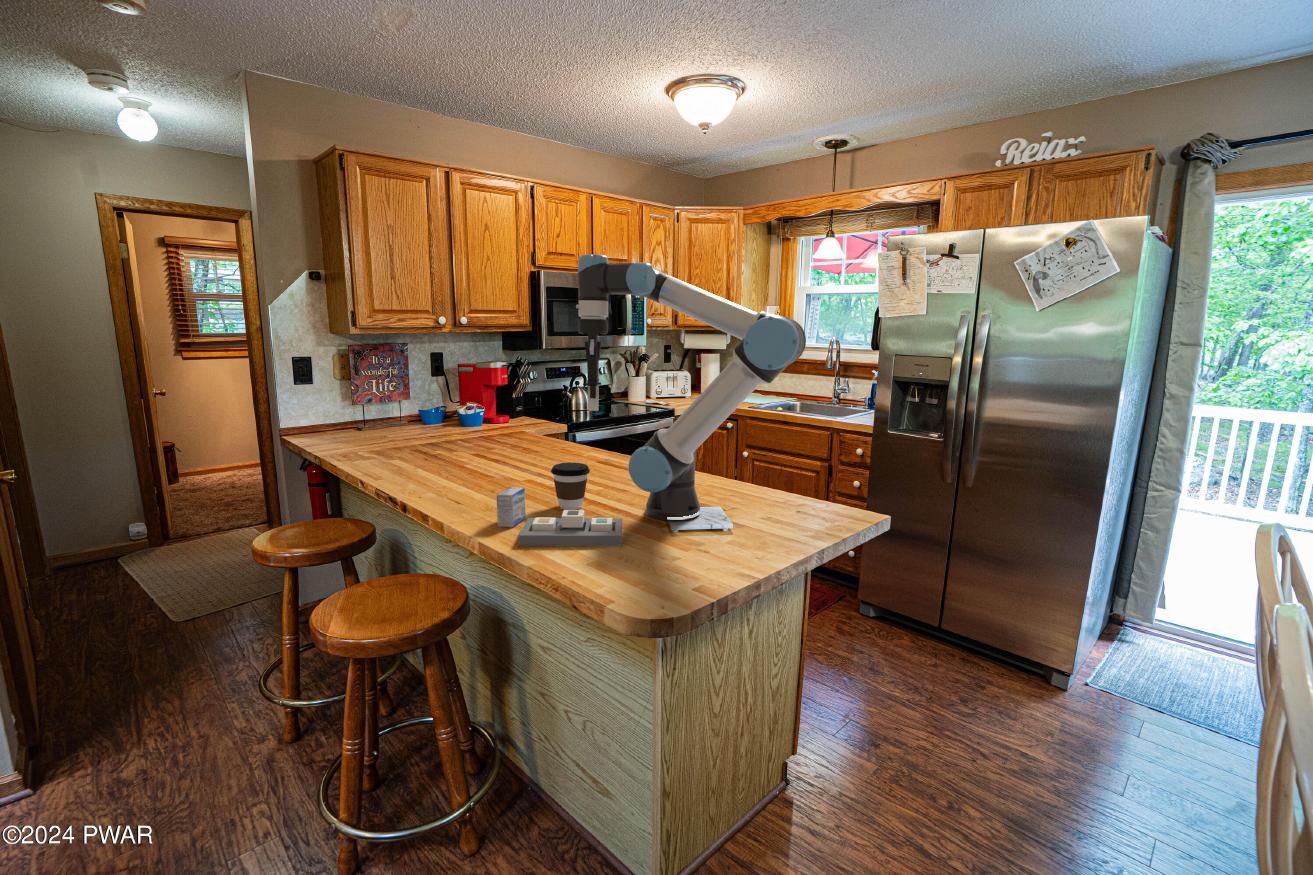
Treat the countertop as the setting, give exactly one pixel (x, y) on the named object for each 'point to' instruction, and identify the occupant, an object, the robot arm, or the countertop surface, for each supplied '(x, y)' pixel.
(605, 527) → the key
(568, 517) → the key
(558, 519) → the keypad board
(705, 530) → the countertop surface
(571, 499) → the coffee cup
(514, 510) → the medicine box
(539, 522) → the key
